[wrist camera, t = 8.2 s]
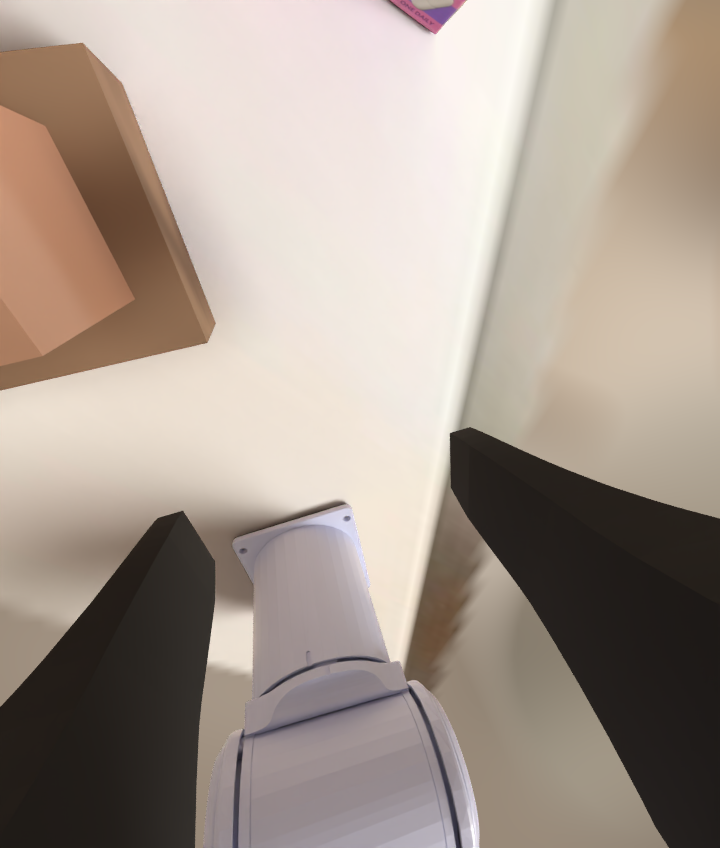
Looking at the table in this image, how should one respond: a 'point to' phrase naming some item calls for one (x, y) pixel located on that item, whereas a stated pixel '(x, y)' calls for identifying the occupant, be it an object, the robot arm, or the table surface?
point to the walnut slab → (108, 211)
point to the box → (430, 11)
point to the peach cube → (47, 248)
